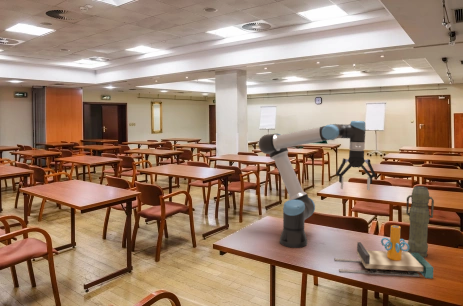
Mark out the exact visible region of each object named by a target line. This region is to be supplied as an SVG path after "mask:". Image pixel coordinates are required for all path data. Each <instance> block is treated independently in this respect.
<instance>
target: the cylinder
mask: <svg viewBox="0 0 463 306" xmlns="http://www.w3.org/2000/svg"><path fill="white" fill-rule="evenodd" d="M389 236H390V237H389V238H390V239H389V238H388V237H383V238H381V241H380V242H381V245H382V246H383V247H384V249H385V251H387V257H388V258H389V259H391V260H396V261H399V260H401V259H402V252H408V250H409V245H408V242H406V240H405V239H404V238H401V226H400V225H395V224H393V225H390V234H389ZM384 241H386V242H385V243H384ZM404 246H406V247H407V248H406V249H403V248H404Z"/></svg>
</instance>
